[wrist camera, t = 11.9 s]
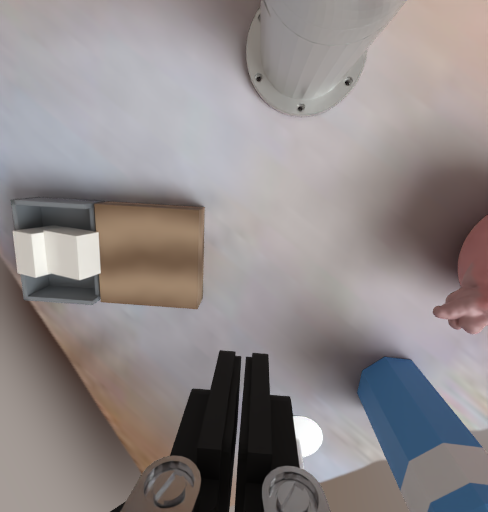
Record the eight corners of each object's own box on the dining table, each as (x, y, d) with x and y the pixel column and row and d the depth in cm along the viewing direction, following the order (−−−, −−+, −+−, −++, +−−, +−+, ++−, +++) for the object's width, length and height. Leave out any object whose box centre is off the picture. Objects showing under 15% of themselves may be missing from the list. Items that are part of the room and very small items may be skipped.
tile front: (66, 226, 38) (43, 230, 35) (98, 232, 36) (76, 236, 33) (70, 266, 39) (47, 272, 36) (100, 273, 37) (79, 280, 35)
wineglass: (257, 435, 46) (254, 621, 27) (303, 403, 45) (335, 578, 25) (291, 468, 48) (311, 669, 28) (337, 439, 46) (393, 632, 26)
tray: (38, 197, 39) (10, 199, 35) (104, 201, 39) (85, 204, 34) (48, 287, 42) (24, 299, 38) (110, 291, 42) (92, 305, 37)
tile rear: (71, 228, 38) (53, 225, 39) (31, 234, 34) (12, 230, 35) (74, 267, 40) (57, 263, 41) (35, 277, 35) (17, 273, 36)
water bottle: (343, 395, 44) (444, 665, 20) (381, 344, 42) (548, 578, 17) (399, 424, 45) (563, 718, 20) (440, 375, 42) (679, 641, 18)
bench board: (108, 201, 39) (94, 203, 35) (204, 207, 38) (199, 210, 35) (113, 291, 42) (100, 302, 38) (202, 298, 41) (197, 309, 38)
